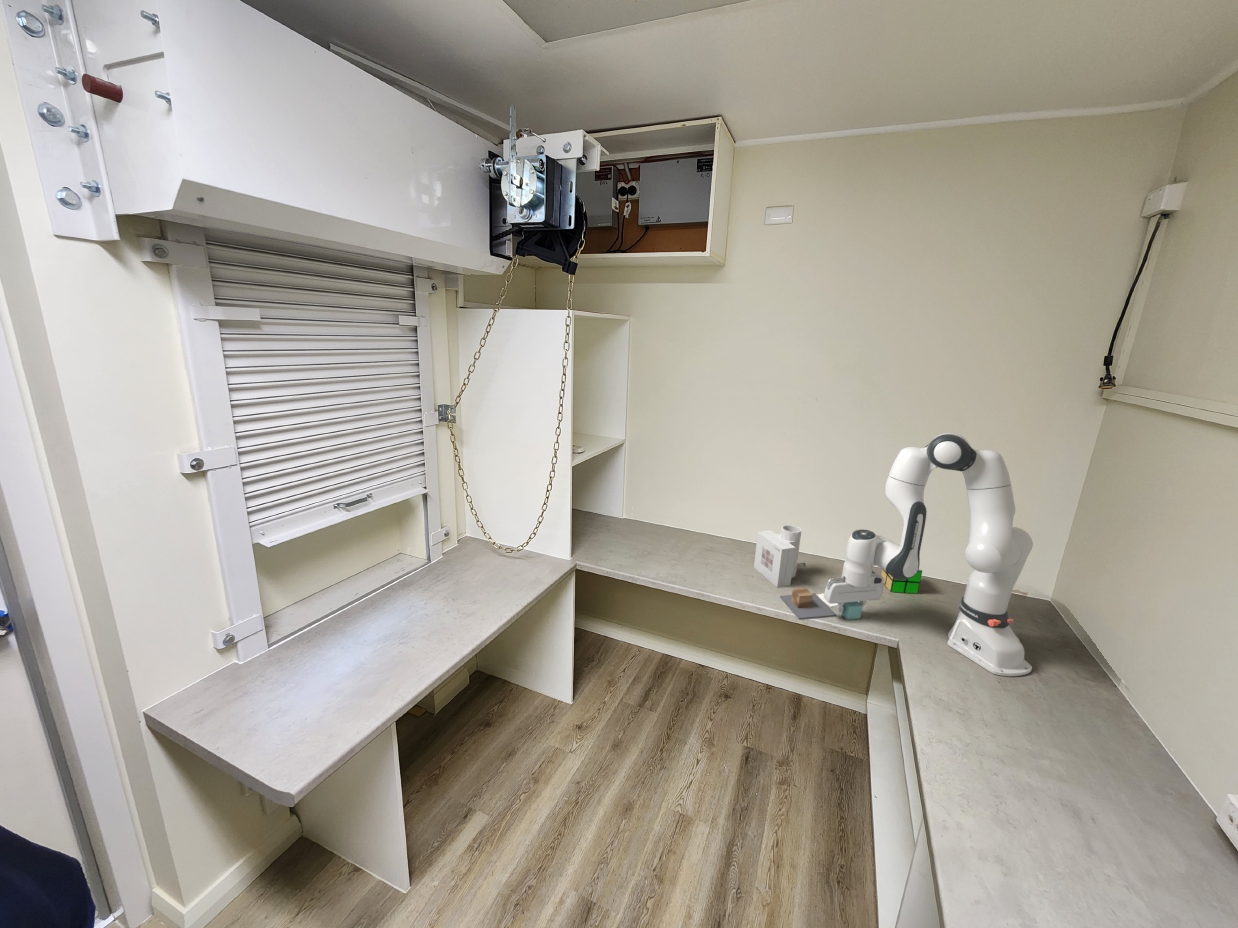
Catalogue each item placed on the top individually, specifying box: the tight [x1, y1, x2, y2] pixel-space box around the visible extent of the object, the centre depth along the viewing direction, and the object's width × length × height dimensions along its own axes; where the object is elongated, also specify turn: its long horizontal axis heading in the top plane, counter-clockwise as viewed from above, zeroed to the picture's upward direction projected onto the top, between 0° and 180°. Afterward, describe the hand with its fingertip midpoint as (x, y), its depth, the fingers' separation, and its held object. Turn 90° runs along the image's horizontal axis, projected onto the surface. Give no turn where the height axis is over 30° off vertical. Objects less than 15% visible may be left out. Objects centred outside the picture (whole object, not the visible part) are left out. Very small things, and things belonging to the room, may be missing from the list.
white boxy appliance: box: [753, 524, 807, 588], centre depth 197 cm, size 16×19×20 cm
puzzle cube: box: [880, 567, 923, 595], centre depth 191 cm, size 10×10×10 cm
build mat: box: [779, 592, 837, 620], centre depth 178 cm, size 14×14×1 cm
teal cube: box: [840, 601, 863, 621], centre depth 172 cm, size 5×5×5 cm
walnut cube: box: [791, 587, 813, 608], centre depth 177 cm, size 5×5×5 cm
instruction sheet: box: [816, 592, 839, 608], centre depth 182 cm, size 8×7×1 cm
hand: (850, 610), depth 173 cm, fingers closed on teal cube, 5 cm apart
